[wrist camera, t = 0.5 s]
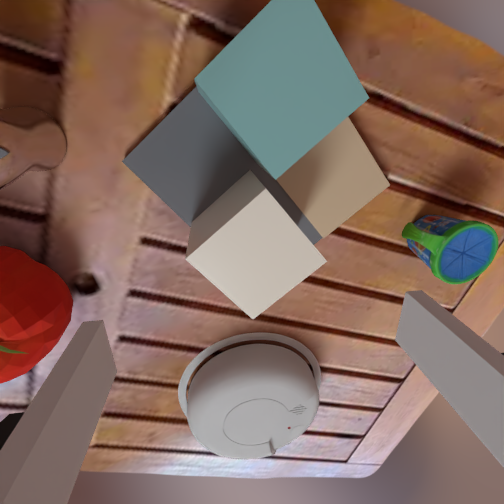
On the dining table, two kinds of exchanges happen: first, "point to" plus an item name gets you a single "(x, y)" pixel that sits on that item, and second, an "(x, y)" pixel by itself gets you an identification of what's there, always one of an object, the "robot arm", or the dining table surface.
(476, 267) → the snack cup
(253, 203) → the ivory cuboid
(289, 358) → the round ceiling alarm
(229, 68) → the seafoam cube
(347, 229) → the dining table surface
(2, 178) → the beer glass
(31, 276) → the tomato
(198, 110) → the board
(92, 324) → the robot arm
